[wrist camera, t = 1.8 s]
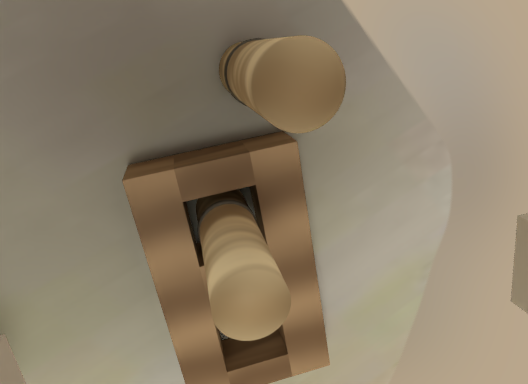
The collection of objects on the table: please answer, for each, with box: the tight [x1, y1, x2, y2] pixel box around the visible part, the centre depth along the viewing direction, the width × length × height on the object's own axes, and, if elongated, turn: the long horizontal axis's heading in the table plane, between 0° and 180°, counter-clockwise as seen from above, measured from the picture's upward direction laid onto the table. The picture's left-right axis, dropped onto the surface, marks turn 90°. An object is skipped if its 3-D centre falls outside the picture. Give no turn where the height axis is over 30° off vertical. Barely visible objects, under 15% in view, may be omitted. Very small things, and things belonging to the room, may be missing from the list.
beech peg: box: [219, 36, 346, 133], centre depth 24 cm, size 4×4×14 cm
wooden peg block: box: [122, 131, 330, 384], centre depth 29 cm, size 20×12×14 cm, turn 10°
